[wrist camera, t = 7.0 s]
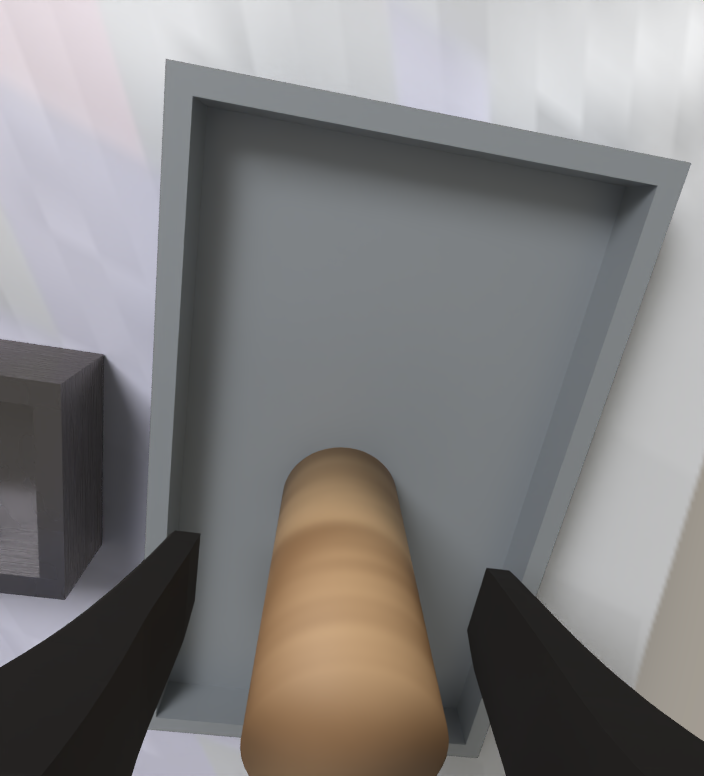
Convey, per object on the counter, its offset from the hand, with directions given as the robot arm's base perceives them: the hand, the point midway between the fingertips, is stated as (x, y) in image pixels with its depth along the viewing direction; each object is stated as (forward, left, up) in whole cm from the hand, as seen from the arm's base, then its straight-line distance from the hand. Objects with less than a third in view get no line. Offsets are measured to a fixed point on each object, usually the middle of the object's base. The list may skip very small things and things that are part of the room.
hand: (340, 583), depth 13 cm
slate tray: (+1, -1, -5) cm, 5 cm away
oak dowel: (0, 0, -4) cm, 4 cm away
